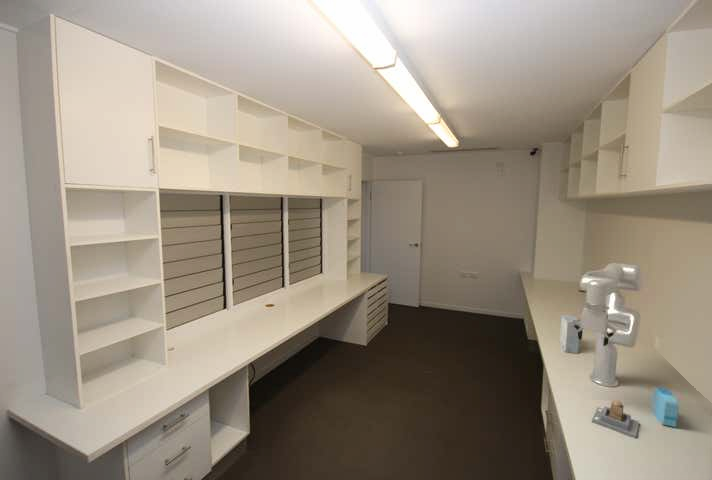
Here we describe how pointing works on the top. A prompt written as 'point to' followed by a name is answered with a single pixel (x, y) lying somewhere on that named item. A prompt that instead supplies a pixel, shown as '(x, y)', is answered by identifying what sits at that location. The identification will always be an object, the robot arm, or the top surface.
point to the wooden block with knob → (616, 410)
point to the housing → (616, 422)
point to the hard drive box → (569, 334)
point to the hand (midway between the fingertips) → (592, 342)
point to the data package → (665, 407)
